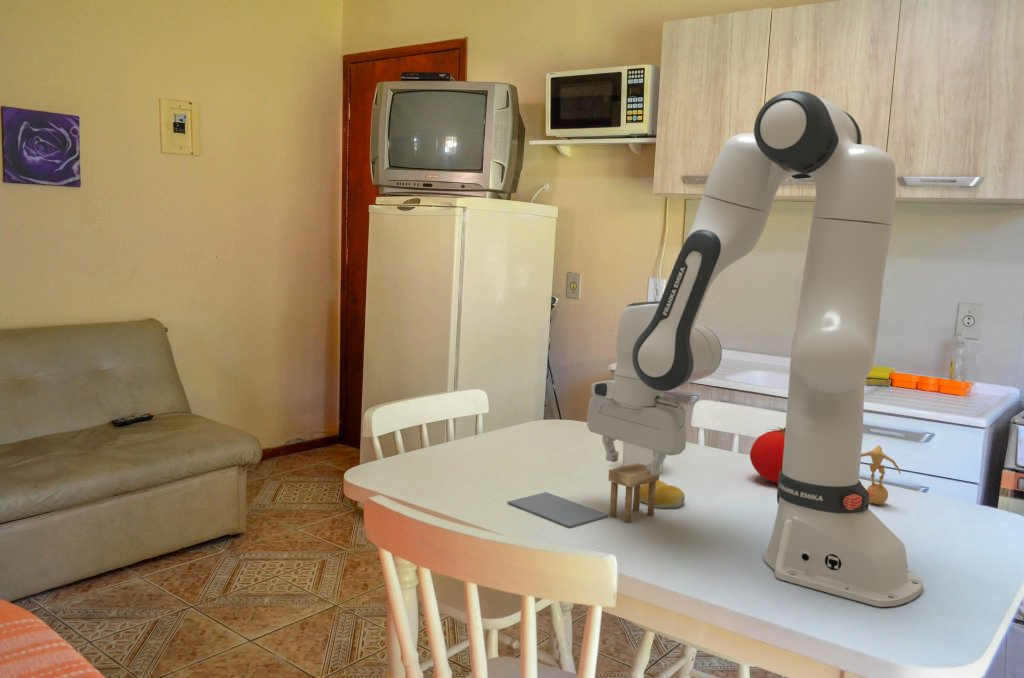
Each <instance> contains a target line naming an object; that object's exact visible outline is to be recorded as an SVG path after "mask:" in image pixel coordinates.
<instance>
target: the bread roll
mask: <svg viewBox="0 0 1024 678" xmlns="http://www.w3.org/2000/svg"><path fill="white" fill-rule="evenodd" d="M648 492H649V483H646V484H642V485H641V488H640V502H641V503H643V504H646V505H648ZM685 497H686V496H685V493H684V491H683V490H682V489H681V488H679V487H677V486H674V485H669V484H667V483H666V482H664V481H662V480H660V479H659V480H657V481H656V489H655V505H654V508H656V509H678V508H681V507H682V506H683V505H684V504H685Z"/></svg>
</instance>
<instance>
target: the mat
mask: <svg viewBox="0 0 1024 678" xmlns="http://www.w3.org/2000/svg"><path fill="white" fill-rule="evenodd" d="M507 505H510V506H513V507H515V508H518V509H519V510H522V511H525V512H527V513H529V514H533V515H535V516H537V517H540V518H543V519H545V520H547V521H550V522H553V523H555V524H558V525H560V526H563V527H564V528H565V527H566V528H568V529H571V528H572V529H573V528H575V527H578V526H582V525H585V524H588V523H593V522H596V521H599V520H602V519H606V518H610V514H609V513H605V512H602V511H599V510H598V509H594V508H591V507H589V506H586V505H583V504H581V503H577V502H575V501H572V500H570V499H566V498H564V497H561V496H558V495H556V494H553V493H550V492H548V491H547V492H540V493H538V494H533V495H529V496H525V497H521V498H517V499H513V500H509V501H507Z"/></svg>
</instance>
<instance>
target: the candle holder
mask: <svg viewBox="0 0 1024 678" xmlns="http://www.w3.org/2000/svg"><path fill="white" fill-rule="evenodd" d="M652 455H653V450H650V449H647V448H643V447H640V446H637V445H633V444H630V443H626V442H623V441H622V467H623V466H627V465H632V464H636V463H640V464H643V465H647V464H651V463H652V462H653V460H654V458H655V457H653V456H652ZM663 466H664V461H663V462H662V463H661V465H660V468H659V469H660V471H659V475H660V474H661V473H662V471H663V468H664V467H663Z"/></svg>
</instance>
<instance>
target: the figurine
mask: <svg viewBox="0 0 1024 678" xmlns="http://www.w3.org/2000/svg"><path fill="white" fill-rule="evenodd" d="M867 456H870V458H871V463H869V469H870V472H871V474H870V479H871V484H870V485H869V486H868V487H867V488H866V490H867V491H870V490H872V489H874V490H875V491H874V493H873V494H872V495H874V497H871V498H869V503H871V504H873V505H876V506H877V505H883V504H884V503H885V502H887V500H888V498H889V493H888V492H889V491H888V489H887V488H886V487H885V486H884V485H883V482H882V481H883V480H884V476H885V474H886V471H885V468H886V467H885V465H884V464H882V461H883V460H884V459H885V460H887V461H889V462H891V463H892V465H893V466H894V468H895V469H896V470H897V471H898V474H901V470H900V468H899V466H898V464H897V463H896V461H895V460H894V459H893V458H891V457H890V456H888V455H887V454H885V453H884V452H883V451H882V446H881V445H877V446H876V447H875V448H874V449H873V450H870V451H866V452H863V453H862V452H861V458H862V457H867ZM877 470H878V473H880V474H881V475H880V476H879V479H878V483H876V482H875V478H876V477H875V473H876V472H877Z"/></svg>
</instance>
